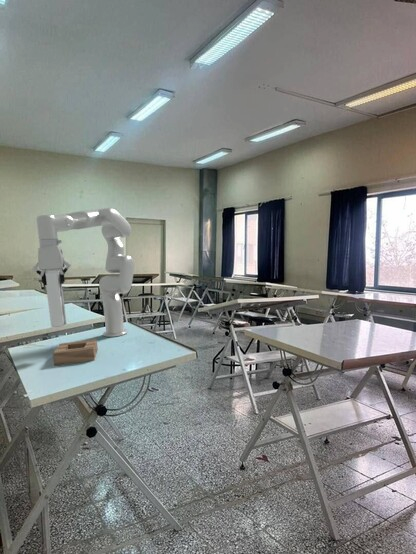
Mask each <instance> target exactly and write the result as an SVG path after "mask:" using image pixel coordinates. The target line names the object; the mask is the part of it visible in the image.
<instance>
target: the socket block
mask: <svg viewBox="0 0 416 554" xmlns="http://www.w3.org/2000/svg"><path fill="white" fill-rule="evenodd" d="M98 351H99V349H98V340H97V339H96V338H95V339H88V340H79V341H70V342H62V343H61V342H60V343H59V345H58V346H57V347H56V349H55V350H54V352H53V353H52V357H53V364H54V366H61V365H68V364H76V363H83V362H92V361H95V360H96V357H97V353H98Z"/></svg>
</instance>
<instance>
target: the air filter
mask: <svg viewBox="0 0 416 554" xmlns="http://www.w3.org/2000/svg"><path fill="white" fill-rule="evenodd" d="M60 275H61V274H60V272H59V270H58V269H51V270H46V272H45V281H46V285H45V287H46V295H47V304H48V310H49V318H50V319H49V320H50V326H51V328H57V327H59V328H60V327H64V326H66V325H67V316H66V315H67V314H66V308H65V299H64V291H63V290H64V289H63V284H61V281H60Z"/></svg>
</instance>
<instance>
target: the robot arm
mask: <svg viewBox="0 0 416 554" xmlns="http://www.w3.org/2000/svg"><path fill="white" fill-rule="evenodd" d="M36 225H37V227H36V228H37V235H38V241H39V247H38V248H37V250H38V251H37V261H38V262H36V264H35V265H34V266H33V267H32V270H33V271H34V272H35V273H37V274H38V275H39V276H40V277H41V281H42V282H41V283H42V284H43V286H46V281H45V272H46V270H55V269H58V270H59V272H60V274H61V275H60V281H61V284H62V285H63V284H65V282H66V278H65V274H66V273H67V272H68V270H69V269H70V267H72V266H71V265H72V264H70V263H69V262H67V261H66V260H65V259H64V258H65V257H64V253H63V249H62V246H61V245H60V244H62V240H61V239H58V233H60V232H68V231H71V230H83V229H90V228H95V227H101V228H100V229H101V235H102V237H104V239H105V241H106V245H107V247H108V248H107V254H106V259H105V267H104V268H105V270H106V272H107V273H109V275H105V276H102V277H101V278H100V279H99V282H98V288H99V291H100V294H101V298H102V306H103V315H104V324H105V331H104V332H103V333H102V335H103V337H106V338H107V337H108V338H113V337H119V336H124V335H126V334H127V333H128V330H127V329H125V325H124V323H125V322H124V315H123V314H124V313H123V306H122V305H123V304H122V299H121V296H120V294H127V293H129V292H130V291H131V288H132V286H133V285H132V284H133V279H134V273H135V261H134V259H133V257H132V256H130V255H126V254H124V253H125V245H124V243H123V242H122V240H121V238H127V237H129V236H130V235H131V233H132V226H131V225H130V222H128V221H127V219H126V218H124V217H123V216H122V214H121V213H119V211H117V210H116V209H114V208H112V207H106V208H105V207H104V208H96V209H89V210H88V209H87V210H80V211H75V212H74V211H73V212H71V213H66V214H65V213H64V214H56V215H53V214H41V215H38V216H36ZM63 268H64V269H63ZM110 274H111V275H110ZM113 274H115V275H113ZM117 274H119V275H117Z"/></svg>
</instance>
